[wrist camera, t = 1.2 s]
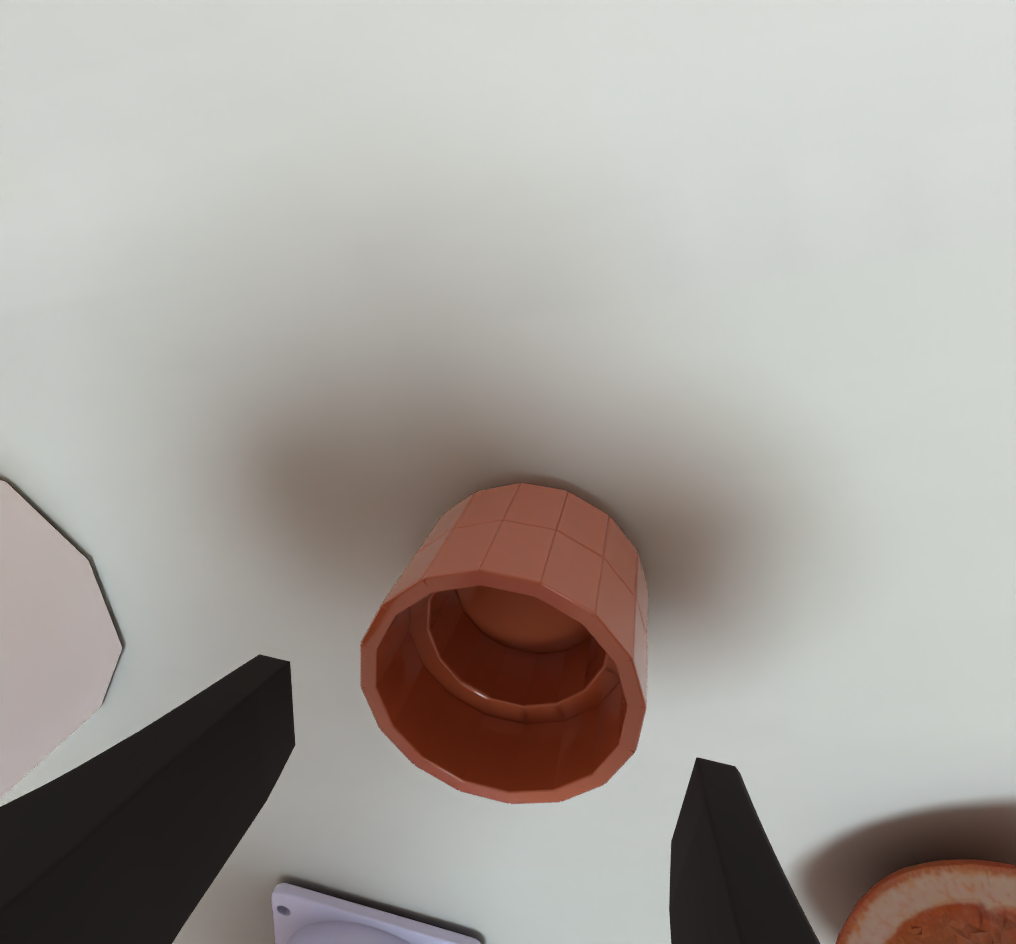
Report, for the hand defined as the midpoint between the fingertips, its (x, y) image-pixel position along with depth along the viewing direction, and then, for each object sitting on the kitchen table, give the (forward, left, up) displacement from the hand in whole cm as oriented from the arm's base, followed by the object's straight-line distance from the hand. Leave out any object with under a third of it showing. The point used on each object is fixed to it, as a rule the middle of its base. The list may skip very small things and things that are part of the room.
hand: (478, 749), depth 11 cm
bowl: (0, 0, -6) cm, 6 cm away
